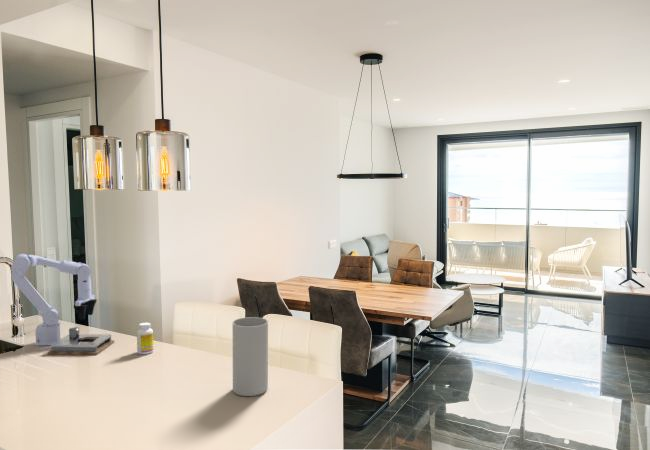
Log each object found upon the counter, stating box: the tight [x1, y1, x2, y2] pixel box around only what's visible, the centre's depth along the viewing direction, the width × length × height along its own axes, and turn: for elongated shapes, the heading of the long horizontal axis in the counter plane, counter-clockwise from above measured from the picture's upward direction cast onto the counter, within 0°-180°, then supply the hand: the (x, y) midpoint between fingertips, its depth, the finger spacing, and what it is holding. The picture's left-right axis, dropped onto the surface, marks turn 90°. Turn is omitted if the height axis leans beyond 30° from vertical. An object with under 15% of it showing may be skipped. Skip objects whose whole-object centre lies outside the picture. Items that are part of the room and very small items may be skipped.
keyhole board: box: [46, 339, 115, 356], centre depth 211 cm, size 22×17×1 cm
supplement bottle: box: [136, 322, 154, 355], centre depth 206 cm, size 7×7×13 cm
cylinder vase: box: [232, 316, 269, 397], centre depth 167 cm, size 12×12×25 cm
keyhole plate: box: [50, 333, 112, 352], centre depth 211 cm, size 20×15×3 cm
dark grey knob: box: [68, 326, 80, 341], centre depth 211 cm, size 6×6×8 cm
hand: (86, 317), depth 225 cm, fingers open, 7 cm apart
